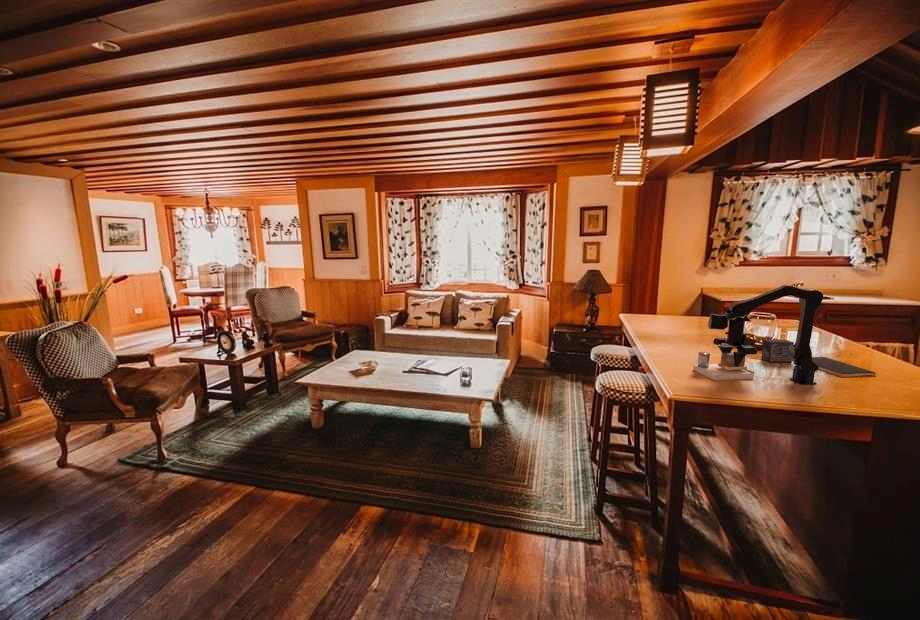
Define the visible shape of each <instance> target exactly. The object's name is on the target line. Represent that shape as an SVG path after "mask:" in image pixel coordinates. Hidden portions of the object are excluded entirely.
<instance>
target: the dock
mask: <svg viewBox="0 0 920 620" xmlns="http://www.w3.org/2000/svg"><path fill="white" fill-rule="evenodd" d="M697 365H698V364H693V366H692V370H693V371H695V372H697V373H699V374H701V375H703V376H705V377H707V378H709V379H712V380H713V381H727V380H747V379H749V380H750V379H751V380H752V379H754V377H755V376H754V375H755V371H753V370H751V369H748V368H747V369H741V370H726V369H724V368H721V367H719V366H718V363H709V368H701V367H698V366H697Z"/></svg>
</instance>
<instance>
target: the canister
mask: <svg viewBox="0 0 920 620" xmlns="http://www.w3.org/2000/svg"><path fill="white" fill-rule="evenodd" d="M697 353H698V355H697V356H698V358H697V364H696V365H697V366H698V367H701V368H709V364H710V357H711V353H709V352H705V351H699V352H697Z"/></svg>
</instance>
